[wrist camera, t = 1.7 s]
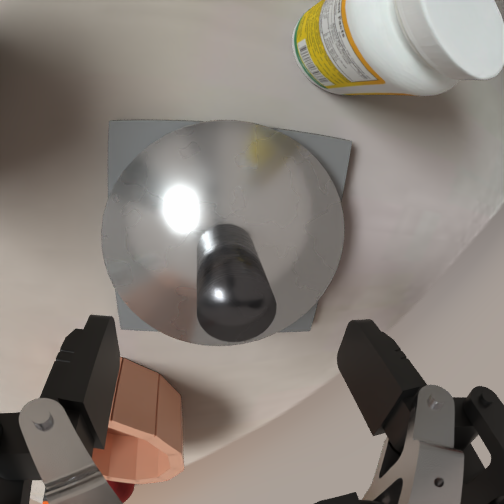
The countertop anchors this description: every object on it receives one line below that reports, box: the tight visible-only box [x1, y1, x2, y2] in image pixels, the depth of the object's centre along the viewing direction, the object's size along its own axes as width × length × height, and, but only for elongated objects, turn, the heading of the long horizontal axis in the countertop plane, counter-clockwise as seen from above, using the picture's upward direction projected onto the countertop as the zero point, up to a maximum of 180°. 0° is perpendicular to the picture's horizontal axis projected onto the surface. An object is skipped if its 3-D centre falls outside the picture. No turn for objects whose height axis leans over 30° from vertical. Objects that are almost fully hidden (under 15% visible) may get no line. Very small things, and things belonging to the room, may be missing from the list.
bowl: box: [92, 357, 184, 484], centre depth 19 cm, size 11×11×6 cm
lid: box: [101, 120, 344, 346], centre depth 13 cm, size 12×12×6 cm
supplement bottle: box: [292, 0, 504, 96], centre depth 9 cm, size 5×5×10 cm
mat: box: [108, 120, 352, 332], centre depth 16 cm, size 12×12×1 cm
